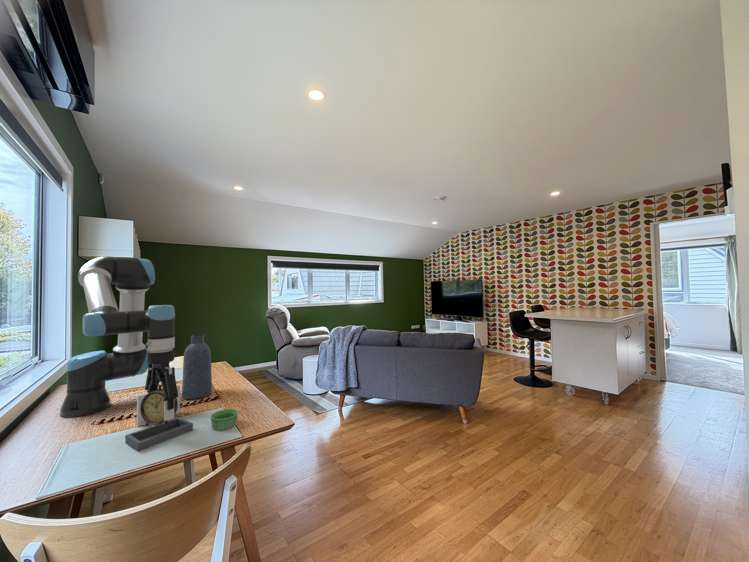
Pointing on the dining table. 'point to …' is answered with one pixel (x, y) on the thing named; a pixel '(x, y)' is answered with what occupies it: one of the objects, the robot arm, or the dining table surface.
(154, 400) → the alarm clock
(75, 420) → the dining table surface
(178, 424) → the dock
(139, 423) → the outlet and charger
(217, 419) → the ramekin
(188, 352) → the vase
